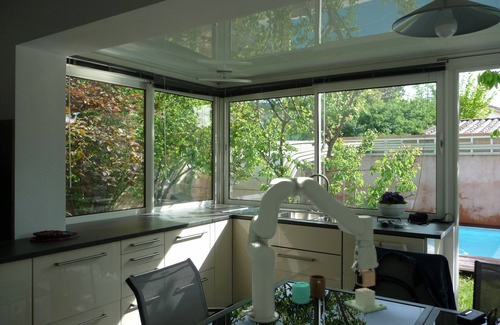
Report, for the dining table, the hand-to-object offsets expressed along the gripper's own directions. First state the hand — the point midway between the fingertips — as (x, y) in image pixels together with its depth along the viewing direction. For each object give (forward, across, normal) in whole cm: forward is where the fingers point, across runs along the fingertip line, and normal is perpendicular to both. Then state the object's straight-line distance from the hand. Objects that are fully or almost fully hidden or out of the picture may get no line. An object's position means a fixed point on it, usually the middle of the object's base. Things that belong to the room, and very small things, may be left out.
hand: (365, 282), depth 181 cm
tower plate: (+11, 0, 0) cm, 11 cm away
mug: (+11, -12, +19) cm, 25 cm away
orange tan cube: (+1, 0, 0) cm, 1 cm away
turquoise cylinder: (+11, -22, +19) cm, 31 cm away
